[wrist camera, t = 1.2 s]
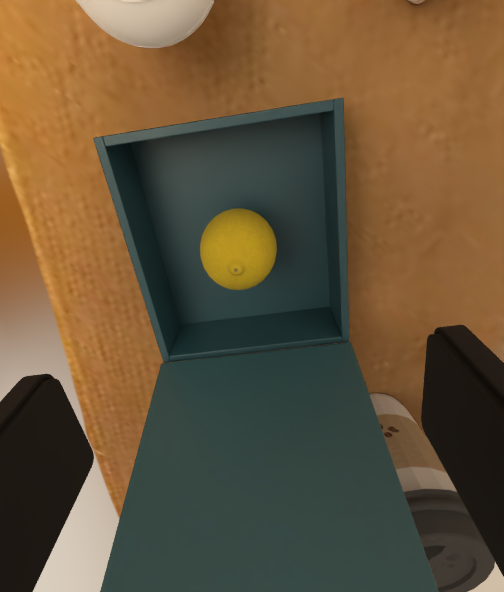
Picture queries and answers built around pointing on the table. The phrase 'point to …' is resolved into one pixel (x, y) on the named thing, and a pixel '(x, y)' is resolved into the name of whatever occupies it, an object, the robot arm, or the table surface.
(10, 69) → the table surface
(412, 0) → the eye dropper bottle
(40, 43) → the table surface
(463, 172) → the table surface
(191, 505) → the lid
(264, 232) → the lemon
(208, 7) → the spinning top
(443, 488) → the coffee cup
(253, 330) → the chest
